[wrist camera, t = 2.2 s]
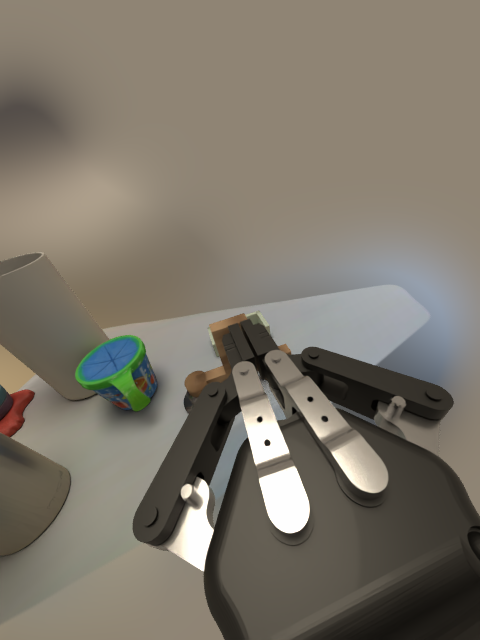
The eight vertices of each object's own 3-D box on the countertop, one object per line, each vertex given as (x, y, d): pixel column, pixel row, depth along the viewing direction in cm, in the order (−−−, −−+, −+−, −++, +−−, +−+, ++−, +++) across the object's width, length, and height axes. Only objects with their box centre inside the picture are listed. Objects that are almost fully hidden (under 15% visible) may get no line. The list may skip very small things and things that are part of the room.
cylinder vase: (50, 396, 44) (-82, 292, 29) (96, 351, 53) (13, 254, 38) (94, 406, 40) (-32, 291, 25) (136, 356, 49) (61, 249, 34)
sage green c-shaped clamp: (217, 357, 44) (212, 345, 42) (211, 339, 49) (207, 327, 47) (270, 338, 46) (269, 325, 44) (260, 322, 51) (258, 310, 48)
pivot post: (187, 424, 34) (180, 415, 32) (183, 389, 40) (178, 380, 38) (229, 408, 35) (225, 399, 33) (219, 376, 40) (216, 366, 39)
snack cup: (104, 382, 45) (72, 348, 38) (153, 355, 48) (131, 320, 42) (117, 446, 33) (75, 412, 27) (179, 404, 37) (154, 366, 31)
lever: (195, 410, 36) (162, 353, 27) (193, 393, 38) (162, 336, 30) (294, 373, 38) (291, 309, 29) (285, 359, 41) (279, 297, 32)
